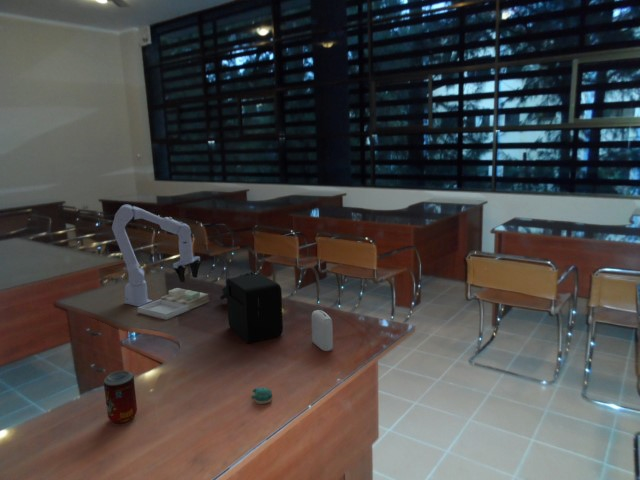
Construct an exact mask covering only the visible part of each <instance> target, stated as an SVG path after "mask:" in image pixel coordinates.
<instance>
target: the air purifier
mask: <svg viewBox="0 0 640 480" xmlns="http://www.w3.org/2000/svg"><path fill="white" fill-rule="evenodd" d="M225 286H226V288H227V299H226V302H227V304H226V305H227V316H228V317H227V318H228V320H227V321H228V325H229V328H230V329H231V330H232V331H233V332H234V333H235V334H236V335H237V336H238V337H239V338H241V340H243V342H245V343H246V344H250V343H254V342H258V341H264V340H267V339H271V338H275V337H279V336H281V335H282V334H283V330H284V321H283V317H284V315H283V296H282V295H283V293H282V287H281V285H280V284H279V283H278V282H276V281H275V280H272V279H271V278H269V277H267V276H265V275H264V274H262V273H258V272H257V273H254V274H252V275H246V276H240V277H237V276H235V277H229V278H227V279H226V281H225Z"/></svg>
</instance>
